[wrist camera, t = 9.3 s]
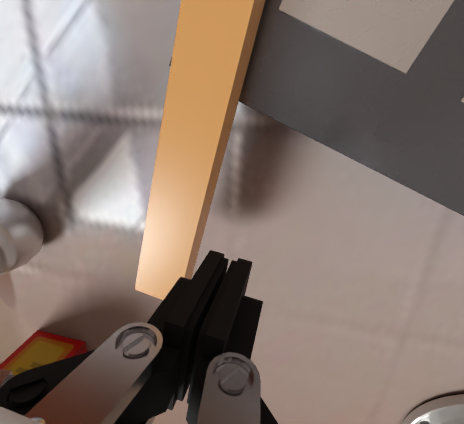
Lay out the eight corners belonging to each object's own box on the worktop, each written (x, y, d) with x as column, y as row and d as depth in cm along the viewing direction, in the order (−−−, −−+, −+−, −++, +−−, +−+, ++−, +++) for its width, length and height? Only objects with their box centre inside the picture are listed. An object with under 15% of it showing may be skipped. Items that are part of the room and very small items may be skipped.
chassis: (742, -2, 14) (938, -41, 10) (502, 227, 20) (558, 265, 16) (292, -224, 14) (290, -358, 10) (192, 69, 20) (164, 64, 16)
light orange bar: (225, -140, 12) (209, -192, 10) (300, -122, 12) (300, -171, 10) (150, 267, 21) (133, 288, 19) (191, 282, 21) (178, 306, 19)
